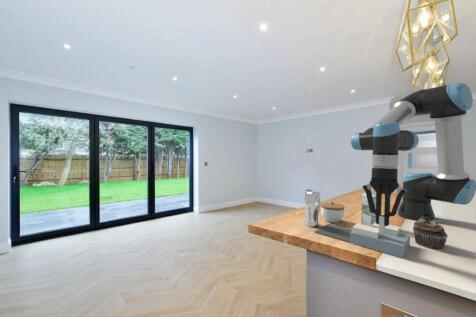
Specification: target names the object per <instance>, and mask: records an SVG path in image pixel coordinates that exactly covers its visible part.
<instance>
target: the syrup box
mask: <svg viewBox="0 0 476 317" xmlns="http://www.w3.org/2000/svg"><path fill="white" fill-rule="evenodd" d="M372 197H373V201H374V206H375V209H376V193H372ZM375 222H376V215H375V214H374V213H372V212H370V209H369V205H368V200H367V196H366V192H365V193H362V194H361V223H360V224H366V225H370V226H372V225H373V224H374V223H375Z"/></svg>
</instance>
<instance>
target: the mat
mask: <svg viewBox="0 0 476 317" xmlns="http://www.w3.org/2000/svg"><path fill="white" fill-rule="evenodd" d="M351 231H353V229H351V228H347V227H343V226H338V225H334V224H330V223H327V224H326V225H323V226H322V227H320V228H318V229H316V230H315V231H313V233H315V234H318V235H322V236H325V237H329V238H332V239H335V240H338V239H339V240H338V241H343V242H345V241H346V243H349V242H350V232H351Z"/></svg>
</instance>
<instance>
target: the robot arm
mask: <svg viewBox="0 0 476 317" xmlns="http://www.w3.org/2000/svg"><path fill="white" fill-rule="evenodd" d="M472 107H473V94H472V92H471V89H470V87H469V86H468V85H467V84H466V83H463V82H458V83H457V82H455V83H449V84H445V85H439V86H435V87H429V88H426V89H425V88H424V89H419V90H417V91H413V92H412V93H410V94H408V95H406V96H404V97H403V98H401V99H400V100H398V101H397V102H396V103H395V104H394V105H393V106H392V109H391V110H389V111H387V113H386V114H384V115H383V116H382V117H381V118H379V119H378V120H377V121H375V122H374V123H373V124H372V125H371V126H370V127H368V128H367V129H366V130H364V131H363V132H357V133H354V134H352V136H351V137H350V145H351V147H352V149H353V150H355V151H364V152H365V151H372V155H371V156H372V157H371V158H372V159H371V165H372V168H371V179H370V181H369V182H368V183H367V184H363V186H362V189H363V190H364V192H365V193H366V196H367V200H368V205H369V209H370V212H372V213H374V214H375V215H376V224H379V235H383V236H384V234H385V226H388V225H390V217H395V216H396V215H398V216H400V217H402V218H405V219H408V220H414V221H418V220H420V217H422V216H423V217H425V218H430V219H432V218H436V215H435V213H434V209H433V206H432V200H433V201H437V202H438V201H439V202H442V203H443V202H444V203H449V204H454V205H463V206H465V205H468V204H470V203H472V201H473V198H474V196H475V193H476V180H474V179H470V174H469V173H468V172H466V171H465V161H464V158H465V157H464V142H463V141H464V139H463V124H462V121H463V120H462V119H463V118H464V117H465V116H466V115H467V111H468V110H471V109H472ZM423 115H424V116H425V115H429V119H430V120H431V121H433V122H434V130H435V143H436V146H435V147H436V158H437V159H436V160H437V171H436V173H435V172H434V175H433V173H431V172H422V173H421V172H419V173H405V174H404V175H403V179H402V186H400V184H399V181H398V173H399V172H398V171H399V170H398V168H397V167H398V166H399V152H400V151H401V152H407V151H411V150H414V149H415V148H416V147H417V146H418V144H419V136H418V134H417V133H415V132H414V131H410V130H408V129H401V128H400V126H401V125H402V124H403V123H404V122H406V121H407V120H410V119H412V118H413V117H417V116H423ZM371 189H373V190H374V192H375V194H376V209H375V206H374V201H373V197H372V194H373V193H372V190H371ZM395 190H396V193H397V195H396V198H395V199H394V204H393V207H392V208H391V197H392V194H393V193H394V192H395ZM383 195H384V210H383V211H382V201H383V200H382V199H383V198H382V197H383ZM382 212H384V213H383V214H382Z"/></svg>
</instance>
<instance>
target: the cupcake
mask: <svg viewBox="0 0 476 317" xmlns="http://www.w3.org/2000/svg"><path fill="white" fill-rule="evenodd" d="M413 223H414V224H413V228H412V230H413V231H412V232H413V235H414V241H415V243H416V244H417V245H418V246H422V247H424V248H428V249H432V250H437V249H441V250H444V249H443V248H445V245H446V242H447V240H448V234H447V233H446V231H445V228H444V226H443V225H440V224H439V223H440V220H439V219H438V218H436V217H435V218H432V219H430V218H425V217H423V216H422V217H420V220H415V222H413Z"/></svg>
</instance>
